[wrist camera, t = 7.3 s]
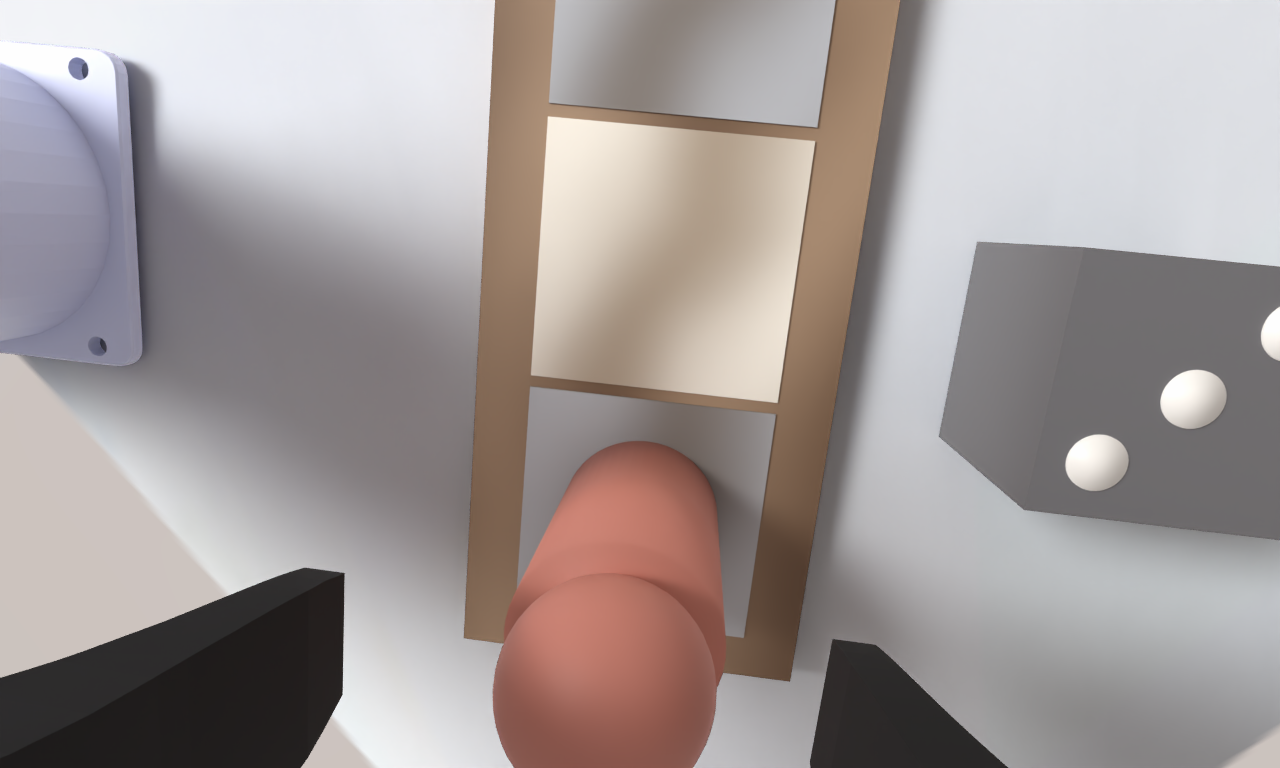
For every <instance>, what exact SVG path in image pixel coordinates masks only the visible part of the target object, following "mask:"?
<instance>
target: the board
mask: <svg viewBox="0 0 1280 768" xmlns="http://www.w3.org/2000/svg"><path fill="white" fill-rule="evenodd" d="M899 6H900V0H495V14H494V35H493V55H492V75H491V96H490V116H489V137H488V157H487V177H486V198H485V218H484V238H483V259H482V279H481V299H480V320H479V340H478V360H477V381H476V401H475V422H474V442H473V462H472V483H471V503H470V523H469V544H468V564H467V584H466V605H465V625H464V638H466V639H474V640H481V641H489V642H496V643H504V627H505V619H506V615H507V612H508V608H509V605H510V603H511V601H512V598H513V596H514V594H515V592H516V590H517V588H518V586H519V584H520V582H521V580H522V578H523V576H524V574H525V572H526V570H527V568H528V566H529V564H530V562H531V560H532V558H533V556H534V554H535V552H536V550H537V548H538V546H539V544H540V542H541V540H542V538H543V536H544V534H545V532H546V530H547V528H548V526H549V524H550V522H551V520H552V518H553V516H554V514H555V512H556V510H557V508H558V506H559V504H560V502H561V500H562V498H563V495H564V493H565V491H566V489H567V487H568V485H569V483H570V481H571V479H572V478H573V476H574V475H575V473H576V471H577V470H578V469H579V468H580V466H581V465H582V464H583V463H584V462H585V461H586V460H587V459H589V458H590V457H591V456H592V455H594V454H595V453H597V452H598V451H600V450H602V449H604V448H606V447H609V446H612V445H614V444H618V443H623V442H629V441H648V442H654V443H658V444H662V445H665V446H668V447H670V448H672V449H674V450H677V451H678V452H680V453H682V454H683V455H685V456H686V457H687V458H689V459H690V460H691V461H692V462H693V463H694V464H695V465H696V466H697V467H698V468H699V469H700V470H701V471H702V473H703V474H704V475H705V477H706V478H707V480H708V482H709V484H710V486H711V488H712V491H713V493H714V496H715V501H716V506H717V518H718V532H719V547H720V562H721V576H722V591H723V605H724V620H725V635H726V660H725V665H724V670H723V673H730V674H737V675H745V676H753V677H760V678H768V679H775V680H783V681H790V678H791V672H792V666H793V660H794V653H795V647H796V641H797V635H798V629H799V623H800V616H801V610H802V604H803V598H804V592H805V585H806V579H807V573H808V567H809V561H810V555H811V548H812V542H813V536H814V530H815V524H816V518H817V511H818V505H819V499H820V493H821V487H822V481H823V474H824V468H825V462H826V456H827V450H828V444H829V437H830V431H831V425H832V419H833V413H834V407H835V400H836V394H837V388H838V382H839V376H840V370H841V363H842V357H843V351H844V345H845V339H846V333H847V326H848V320H849V314H850V308H851V302H852V296H853V289H854V283H855V277H856V271H857V265H858V258H859V252H860V246H861V240H862V234H863V228H864V221H865V215H866V209H867V203H868V197H869V191H870V184H871V178H872V172H873V166H874V160H875V154H876V147H877V141H878V135H879V129H880V123H881V117H882V110H883V104H884V98H885V92H886V86H887V80H888V73H889V67H890V61H891V55H892V49H893V43H894V36H895V30H896V24H897V18H898V12H899Z"/></svg>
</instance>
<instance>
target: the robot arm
mask: <svg viewBox="0 0 1280 768" xmlns="http://www.w3.org/2000/svg"><path fill="white" fill-rule="evenodd" d="M85 62H86V63H87V65H88V69H89V71H88V76H87V77H86V78H84V77H83V75H82V65H83V64H84V63H85ZM101 338H102V339H103V340H104V341H105V343H106V346H107V350H106V352H105V351H104V350H103V349H102V348H101V345H100V339H101ZM142 349H143V345H142V327H141V308H140V290H139V272H138V253H137V235H136V217H135V198H134V180H133V162H132V143H131V125H130V106H129V88H128V74H127V69H126V66H125V65H124V63H123V61H122V60H121V59H120V58H119V57H118V56H116V55H115V54H112V53H109V52H106V51H102V50H99V49H90V48H79V47H68V46H57V45H46V44H35V43H24V42H13V41H2V40H0V353H7V354H16V355H25V356H34V357H42V358H51V359H60V360H68V361H77V362H86V363H94V364H103V365H112V366H125V365H129V364H133V363H135V362H136V361H138V360H139V358H140V357H141V355H142ZM344 574H345V573H340V572H332V571H325V570H318V569H310V568H302V569H299V570H295V571H292V572H289V573H286V574H283V575H280V576H277V577H275V578H272V579H269V580H267V581H264V582H261V583H259V584H256V585H254V586H251V587H249V588H246V589H244V590H241V591H239V592H236V593H234V594H231V595H229V596H226V597H224V598H222V599H219V600H217V601H214V602H212V603H209V604H207V605H204V606H202V607H199V608H197V609H194V610H192V611H189V612H187V613H184V614H182V615H179V616H177V617H175V618H172V619H170V620H167V621H164V622H162V623H159V624H156V625H154V626H151V627H148V628H145V629H143V630H140V631H137V632H135V633H132V634H129V635H126V636H124V637H121V638H119V639H116V640H113V641H110V642H108V643H105V644H102V645H99V646H97V647H94V648H91V649H89V650H86V651H83V652H80V653H77V654H75V655H72V656H69V657H66V658H63V659H60V660H57V661H54V662H51V663H47V664H44V665H41V666H38V667H35V668H32V669H29V670H25V671H22V672H19V673H15V674H12V675H9V676H5V677H2V678H0V768H301V766H302V765H303V764H304V762H305V760H306V759H307V758H308V756H309V755H310V753H311V751H312V749H313V748H314V746H315V744H316V742H317V740H318V739H319V737H320V735H321V734H322V732H323V730H324V728H325V726H326V725H327V723H328V721H329V719H330V717H331V715H332V713H333V711H334V710H335V708H336V706H337V704H338V702H339V700H340V698H341V696H342V692H343V633H344ZM810 766H811V768H1008V767H1007V766H1006V765H1004V764H1003V763H1002V762H1001V761H1000V760H999V759H998V758H996V757H995V756H994V755H993V754H992V753H991V752H990V751H989V750H987V749H986V748H985V747H984V746H983V745H982V744H981V743H980V742H978V741H977V740H976V739H975V738H974V737H973V736H972V735H971V734H970V733H969V732H968V731H966V730H965V729H964V728H963V727H962V726H961V725H960V724H959V723H958V722H957V721H956V720H955V719H954V718H953V717H952V716H950V715H949V714H948V713H947V712H946V711H945V710H944V709H943V708H942V707H941V706H940V705H939V704H938V703H937V702H936V701H935V700H934V699H933V698H932V697H931V696H930V695H929V694H928V693H927V692H925V691H924V690H923V689H922V688H921V687H920V686H919V685H918V684H917V683H916V682H915V681H914V680H913V679H912V678H911V677H910V676H909V675H908V674H907V673H906V672H905V671H904V670H903V669H902V668H901V667H900V666H899V665H898V664H896V663H895V662H894V661H893V660H892V659H891V658H890V657H889V656H888V655H887V654H886V653H885V652H883V651H882V650H881V649H880V648H879V647H877V646H876V645H872V644H865V643H857V642H850V641H842V640H835V639H833V640H832V645H831V651H830V656H829V662H828V667H827V672H826V678H825V683H824V689H823V694H822V700H821V705H820V710H819V716H818V721H817V727H816V732H815V738H814V743H813V748H812V754H811V759H810Z"/></svg>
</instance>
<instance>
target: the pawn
mask: <svg viewBox="0 0 1280 768" xmlns="http://www.w3.org/2000/svg"><path fill="white" fill-rule="evenodd" d="M725 660H726V635H725V620H724V605H723V591H722V576H721V562H720V547H719V532H718V518H717V506H716V501H715V496H714V493H713V491H712V488H711V486H710V484H709V482H708V480H707V478H706V477H705V475H704V474H703V473H702V471H701V470H700V469H699V468H698V467H697V466H696V465H695V464H694V463H693V462H692V461H691V460H690V459H689V458H687V457H686V456H685V455H683V454H682V453H680V452H678V451H677V450H674V449H672V448H670V447H668V446H665V445H662V444H658V443H654V442H648V441H629V442H623V443H618V444H614V445H612V446H609V447H606V448H604V449H602V450H600V451H598V452H597V453H595V454H594V455H592V456H591V457H590V458H589V459H587V460H586V461H585V462H584V463H583V464H582V465H581V466H580V468H579V469H578V470H577V471H576V473H575V475H574V476H573V478H572V479H571V481H570V483H569V485H568V487H567V489H566V491H565V493H564V495H563V498H562V500H561V502H560V504H559V506H558V508H557V510H556V512H555V514H554V516H553V518H552V520H551V522H550V524H549V526H548V528H547V530H546V532H545V534H544V536H543V538H542V540H541V542H540V544H539V546H538V548H537V550H536V552H535V554H534V556H533V558H532V560H531V562H530V564H529V566H528V568H527V570H526V572H525V574H524V576H523V578H522V580H521V582H520V584H519V586H518V588H517V590H516V592H515V594H514V596H513V598H512V601H511V603H510V605H509V608H508V612H507V615H506V619H505V627H504V645H503V647H502V649H501V652H500V655H499V658H498V662H497V665H496V669H495V676H494V684H493V711H494V718H495V724H496V728H497V731H498V735H499V738H500V741H501V744H502V747H503V749H504V751H505V753H506V755H507V757H508V759H509V760H510V762H511V763H512V765H513V767H514V768H693V767H694V765H695V764H696V762H697V760H698V758H699V757H700V755H701V753H702V751H703V749H704V747H705V745H706V743H707V740H708V737H709V735H710V732H711V728H712V725H713V720H714V715H715V709H716V692H717V686H718V684H719V682H720V679H721V676H722V674H723V670H724V665H725Z"/></svg>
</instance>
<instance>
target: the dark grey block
mask: <svg viewBox="0 0 1280 768" xmlns="http://www.w3.org/2000/svg"><path fill="white" fill-rule="evenodd" d="M939 437H940V438H941V439H943V440H944V441H945V442H946V443H947V444H948V445H949V446H951V447H952V448H953V449H954V450H955V451H956V452H958V453H959V454H960V455H961V456H962V457H963V458H965V459H966V460H967V461H968V462H969V463H970V464H972V465H973V466H974V467H975V468H976V469H977V470H978V471H980V472H981V473H982V474H983V475H984V476H985V477H987V478H988V479H989V480H990V481H991V482H992V483H994V484H995V485H996V486H997V487H998V488H999V489H1001V490H1002V491H1003V492H1004V493H1005V494H1006V495H1007V496H1009V497H1010V498H1011V499H1012V500H1013V501H1014V502H1016V503H1017V504H1018V505H1019V506H1020V507H1021V508H1023V509H1024V510H1030V511H1038V512H1047V513H1055V514H1064V515H1072V516H1081V517H1089V518H1098V519H1106V520H1115V521H1123V522H1131V523H1140V524H1148V525H1157V526H1165V527H1174V528H1182V529H1191V530H1199V531H1208V532H1216V533H1225V534H1233V535H1241V536H1250V537H1258V538H1267V539H1275V540H1280V267H1277V266H1267V265H1257V264H1247V263H1237V262H1226V261H1216V260H1206V259H1196V258H1186V257H1176V256H1166V255H1156V254H1146V253H1135V252H1125V251H1115V250H1105V249H1095V248H1085V247H1067V246H1048V245H1029V244H1010V243H991V242H977V246H976V251H975V256H974V261H973V267H972V272H971V277H970V282H969V287H968V292H967V297H966V302H965V307H964V312H963V317H962V322H961V327H960V333H959V338H958V343H957V348H956V353H955V358H954V363H953V368H952V373H951V378H950V383H949V388H948V394H947V399H946V404H945V409H944V414H943V419H942V424H941V429H940V434H939Z"/></svg>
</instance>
